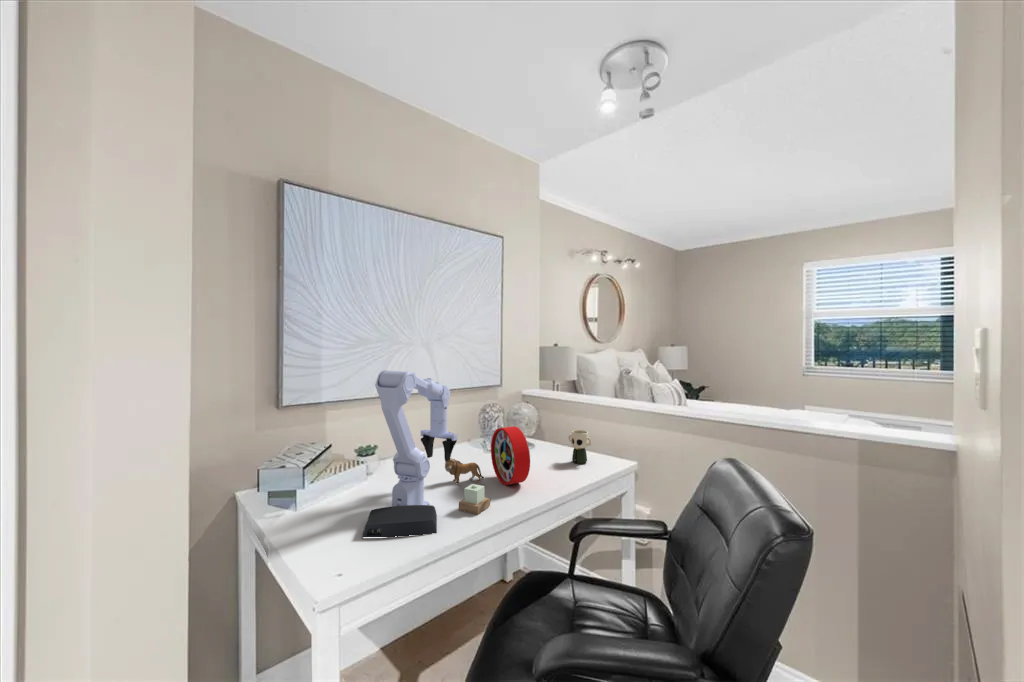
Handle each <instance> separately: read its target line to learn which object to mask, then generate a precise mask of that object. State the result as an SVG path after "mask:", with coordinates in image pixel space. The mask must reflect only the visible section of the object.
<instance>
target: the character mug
mask: <svg viewBox="0 0 1024 682" xmlns="http://www.w3.org/2000/svg"><path fill="white" fill-rule="evenodd" d="M568 442H570V444H571V447H572V448H573V450H572V458H571V461H572V462H573V463H575V462H576V461H577V462H576V464H585V463H587V462H588V457H587V448H588V447H590V446H591V445H592V438H591V437H589V431H587V430H584V429H583V430H582V429H574V430H572V431H571V433H569V434H568ZM591 447H592V446H591Z"/></svg>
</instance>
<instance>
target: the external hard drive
mask: <svg viewBox="0 0 1024 682" xmlns="http://www.w3.org/2000/svg"><path fill="white" fill-rule="evenodd" d="M437 517H438V516H437V509H436V507H435V506H434V505H430V504H428V505H401V506H384V507H377V508H372V509H371V510H370V512H369V515H368V517H367V521H366V523H365V526H364V528H363V532H362V535H361V536H362V537H395V536H397V537H398V536H409V535H419V536H424V535H423V534H428V535H432V533H435V534H437V533H438V532H437V530H438V529H437V526H438V525H437V524H438V523H437V520H438V519H437ZM362 537H361V538H362ZM398 538H399V537H398Z"/></svg>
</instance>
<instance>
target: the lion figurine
mask: <svg viewBox="0 0 1024 682" xmlns="http://www.w3.org/2000/svg"><path fill="white" fill-rule="evenodd" d="M444 461H445V460H444ZM444 468H445V471H446V472H447V473H449V474H450V475H452V476H454V477H453V480H452V481H453V482H454V483H455V484H456V483H458V484H459V482H460V476H461V475H466V474H468V473H470V472H471V477H469V480H471V481H472V480H473V479H474V478H475V477H476V478H478V479H477V480H476V481H477V482H478V483H481V482H482V479H485V476H483V475H482V472H481V468H480V466H479V465H478V463H476V462H468V463H462V462H461V461H459V460H457V459H455V458H452V457H450V460H448V461H445V462H444Z"/></svg>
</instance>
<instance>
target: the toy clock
mask: <svg viewBox="0 0 1024 682" xmlns="http://www.w3.org/2000/svg"><path fill="white" fill-rule="evenodd" d="M490 454H491V455H490V457H491V463H492V468H493V470H494V474H495V475H496V477H497V479H498V481H499V482H500V483H501V484H502V485H504V486H510V485H515V484H519V483H524V482H525V481H526V480H527V478H528V476H529V473H530V469H531V454H530V447H529V443H528V440H527V438H526V436H525V434H524V432H523V431H522V429H521V428H520V427H519V426H514V425H513V426H506V427H505V426H504V427H498V428H496V429H495V431H494V432H493V435H492V437H491V444H490Z"/></svg>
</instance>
